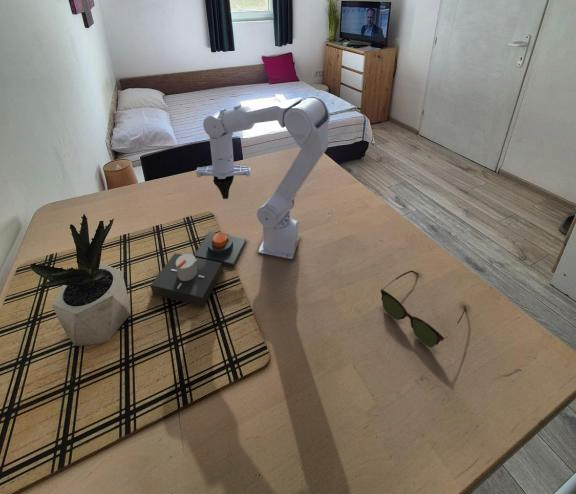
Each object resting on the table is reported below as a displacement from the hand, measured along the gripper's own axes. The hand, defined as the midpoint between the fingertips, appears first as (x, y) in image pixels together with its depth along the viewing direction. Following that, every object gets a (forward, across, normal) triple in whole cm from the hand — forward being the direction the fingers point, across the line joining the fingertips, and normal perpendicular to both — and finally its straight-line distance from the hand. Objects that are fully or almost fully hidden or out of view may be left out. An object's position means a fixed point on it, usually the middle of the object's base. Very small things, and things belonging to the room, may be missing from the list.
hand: (225, 196), depth 92 cm
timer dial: (+7, -7, -20) cm, 22 cm away
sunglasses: (+11, +47, -28) cm, 56 cm away
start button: (+8, -1, -10) cm, 12 cm away
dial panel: (+10, -7, -20) cm, 23 cm away
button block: (+10, -1, -10) cm, 14 cm away
